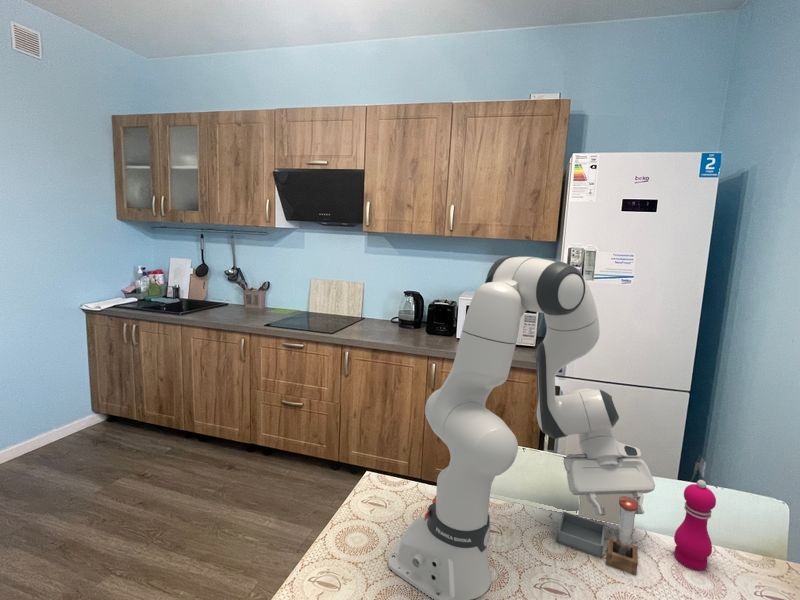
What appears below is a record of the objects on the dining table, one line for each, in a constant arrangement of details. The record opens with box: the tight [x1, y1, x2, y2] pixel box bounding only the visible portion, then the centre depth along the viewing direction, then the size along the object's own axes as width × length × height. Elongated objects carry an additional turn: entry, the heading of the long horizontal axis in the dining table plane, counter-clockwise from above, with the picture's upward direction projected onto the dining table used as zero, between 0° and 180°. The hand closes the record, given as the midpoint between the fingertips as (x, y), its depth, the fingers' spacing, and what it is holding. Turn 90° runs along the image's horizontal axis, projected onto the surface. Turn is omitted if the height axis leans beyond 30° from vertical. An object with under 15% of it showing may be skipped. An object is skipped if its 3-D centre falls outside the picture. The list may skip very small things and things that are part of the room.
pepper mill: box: [673, 479, 717, 571], centre depth 97 cm, size 7×7×20 cm
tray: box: [556, 510, 606, 560], centre depth 104 cm, size 10×9×3 cm
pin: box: [615, 495, 638, 558], centre depth 96 cm, size 4×4×15 cm
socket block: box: [605, 536, 639, 576], centre depth 97 cm, size 6×6×3 cm
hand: (620, 514), depth 98 cm, fingers open, 8 cm apart
